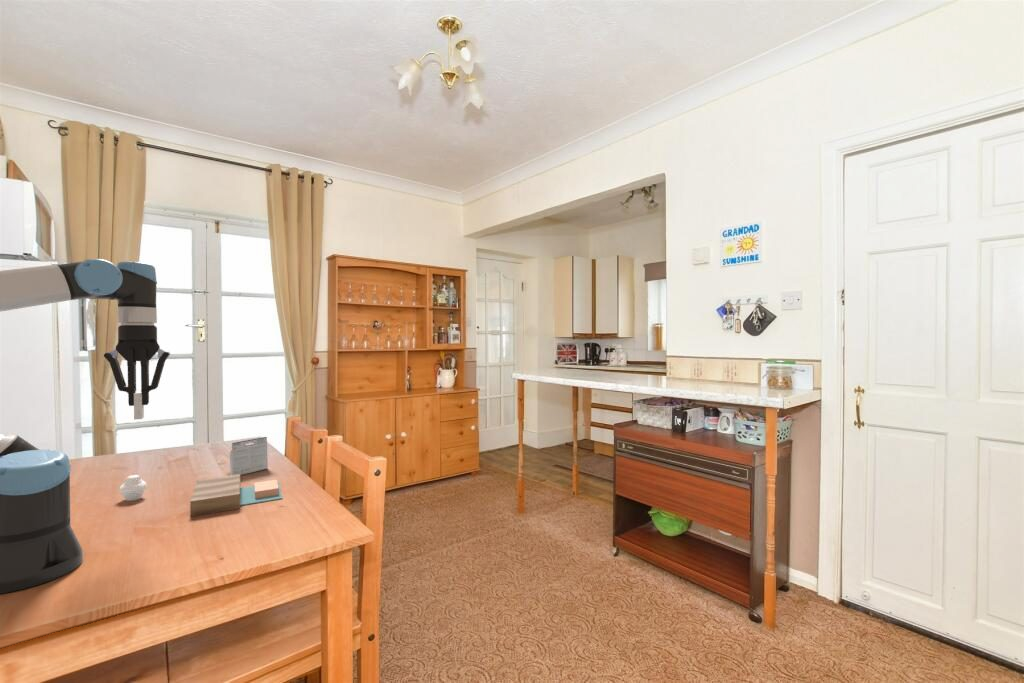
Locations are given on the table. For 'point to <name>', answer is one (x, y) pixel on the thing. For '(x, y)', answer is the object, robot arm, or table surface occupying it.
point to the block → (266, 488)
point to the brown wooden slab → (215, 495)
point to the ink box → (248, 456)
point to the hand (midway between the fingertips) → (139, 418)
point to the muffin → (133, 488)
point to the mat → (249, 496)
